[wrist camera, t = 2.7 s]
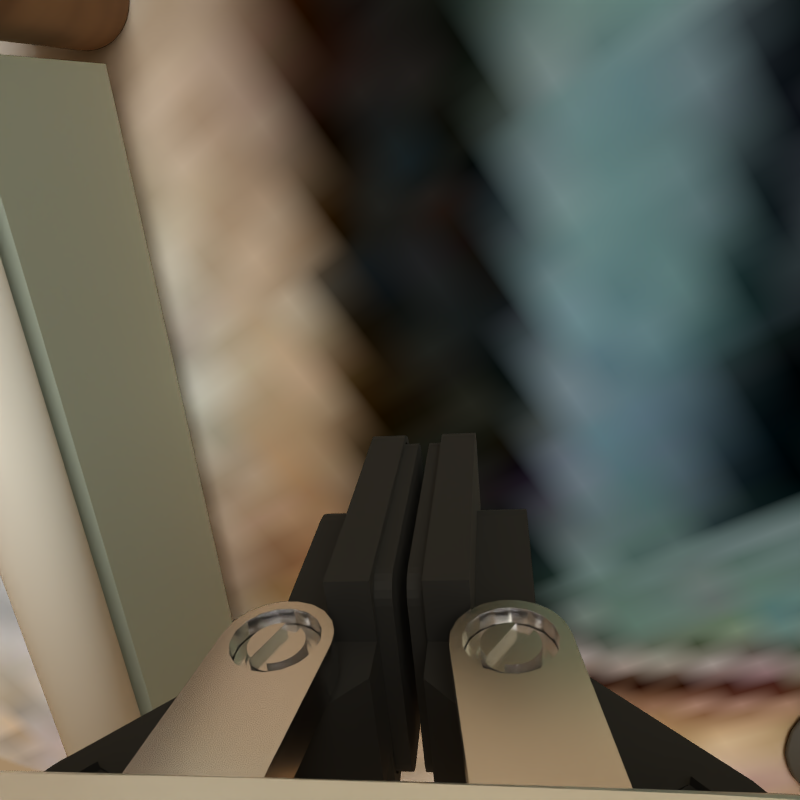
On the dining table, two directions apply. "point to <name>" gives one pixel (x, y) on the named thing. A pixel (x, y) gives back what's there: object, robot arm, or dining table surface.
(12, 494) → the grey rectangular bar
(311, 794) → the robot arm
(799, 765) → the sundae
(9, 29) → the gateposts
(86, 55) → the dining table surface
